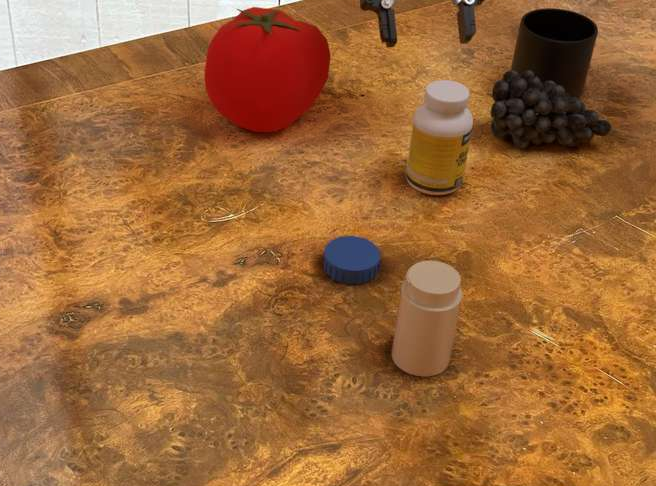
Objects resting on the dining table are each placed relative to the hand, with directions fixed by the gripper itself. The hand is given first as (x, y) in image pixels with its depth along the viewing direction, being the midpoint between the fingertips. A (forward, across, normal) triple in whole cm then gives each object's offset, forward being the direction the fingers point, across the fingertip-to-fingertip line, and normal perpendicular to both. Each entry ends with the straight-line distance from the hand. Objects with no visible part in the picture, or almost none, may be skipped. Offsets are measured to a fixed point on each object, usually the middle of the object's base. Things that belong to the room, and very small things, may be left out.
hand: (429, 43), depth 118 cm
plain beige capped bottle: (+34, -9, -16) cm, 39 cm away
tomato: (+4, -16, +15) cm, 23 cm away
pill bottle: (+15, 0, +4) cm, 15 cm away
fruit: (+10, +15, +8) cm, 20 cm away
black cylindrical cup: (+1, +21, +18) cm, 27 cm away
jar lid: (+24, -13, -7) cm, 28 cm away
